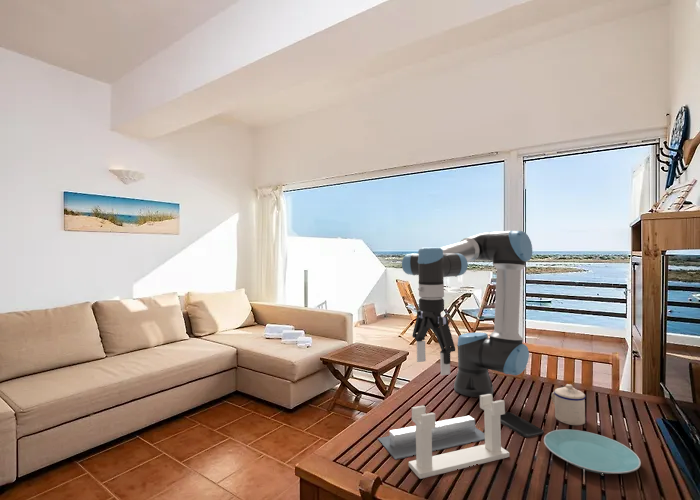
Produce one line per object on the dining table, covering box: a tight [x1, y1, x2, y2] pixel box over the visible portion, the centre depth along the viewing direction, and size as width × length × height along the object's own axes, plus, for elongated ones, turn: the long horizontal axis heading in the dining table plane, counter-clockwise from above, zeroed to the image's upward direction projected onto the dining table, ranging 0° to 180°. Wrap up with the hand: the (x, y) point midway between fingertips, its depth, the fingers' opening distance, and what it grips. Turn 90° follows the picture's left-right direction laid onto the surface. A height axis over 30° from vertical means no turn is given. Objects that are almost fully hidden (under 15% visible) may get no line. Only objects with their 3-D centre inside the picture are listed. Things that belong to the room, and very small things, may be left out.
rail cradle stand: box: [408, 394, 510, 480], centre depth 101 cm, size 6×28×16 cm, turn 109°
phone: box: [500, 411, 545, 438], centre depth 121 cm, size 8×1×15 cm
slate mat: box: [377, 426, 485, 461], centre depth 113 cm, size 12×32×1 cm, turn 109°
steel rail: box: [389, 415, 476, 449], centre depth 113 cm, size 3×28×4 cm, turn 109°
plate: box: [543, 428, 642, 475], centre depth 102 cm, size 22×22×3 cm
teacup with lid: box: [551, 383, 587, 426], centre depth 125 cm, size 12×9×12 cm
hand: (432, 367), depth 113 cm, fingers open, 13 cm apart
